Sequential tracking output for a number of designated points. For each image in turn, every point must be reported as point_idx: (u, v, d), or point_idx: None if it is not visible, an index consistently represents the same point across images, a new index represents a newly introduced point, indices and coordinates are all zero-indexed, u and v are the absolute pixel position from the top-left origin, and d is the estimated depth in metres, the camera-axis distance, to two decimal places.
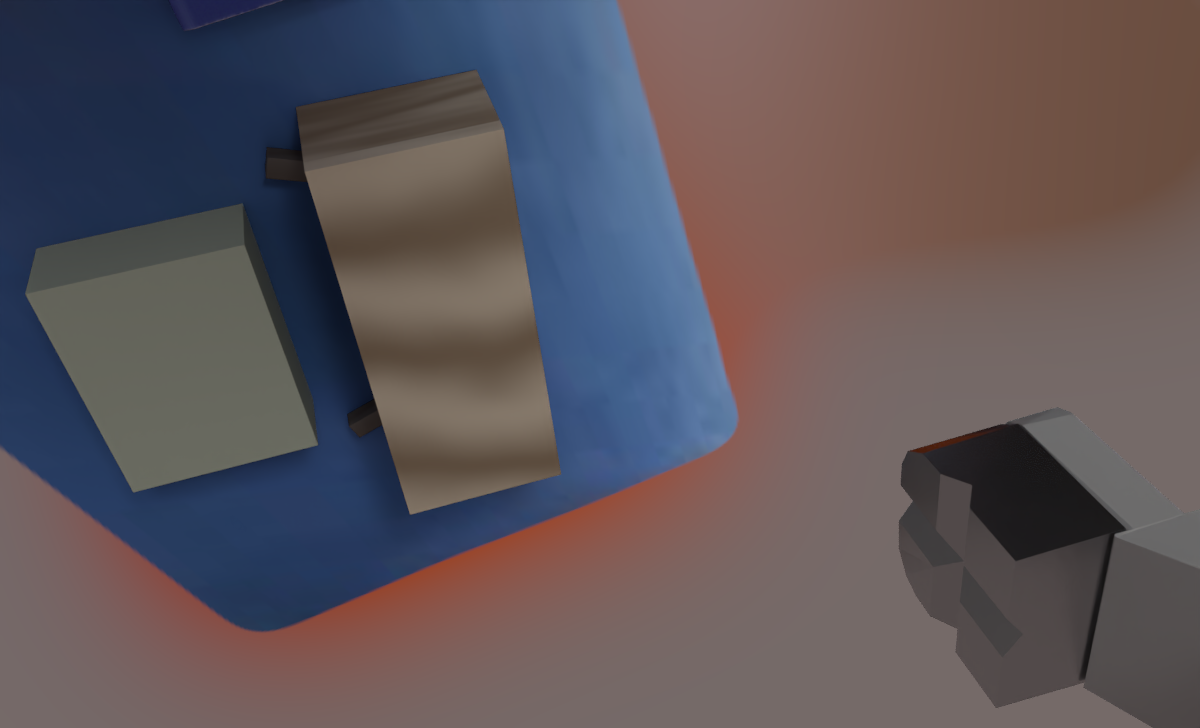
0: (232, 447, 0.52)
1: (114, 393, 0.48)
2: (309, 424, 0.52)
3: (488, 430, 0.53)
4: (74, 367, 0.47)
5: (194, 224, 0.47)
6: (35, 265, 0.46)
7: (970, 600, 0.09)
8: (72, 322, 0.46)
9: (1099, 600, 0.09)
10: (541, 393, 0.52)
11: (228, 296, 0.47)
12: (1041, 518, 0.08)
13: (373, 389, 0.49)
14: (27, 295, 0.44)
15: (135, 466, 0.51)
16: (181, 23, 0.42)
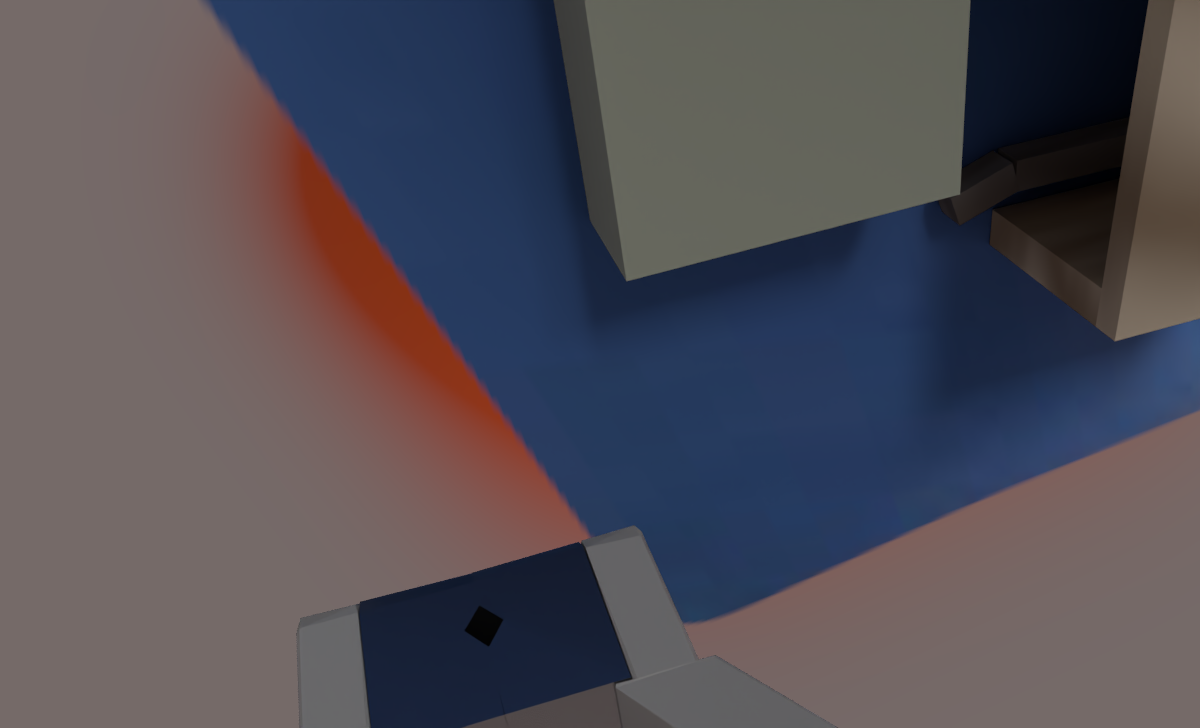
0: (819, 186, 0.26)
1: (650, 26, 0.23)
2: (960, 143, 0.27)
3: None
4: None
5: None
6: None
7: None
8: None
9: None
10: None
11: None
12: (553, 662, 0.08)
13: (1175, 17, 0.24)
14: None
15: (643, 219, 0.26)
16: None
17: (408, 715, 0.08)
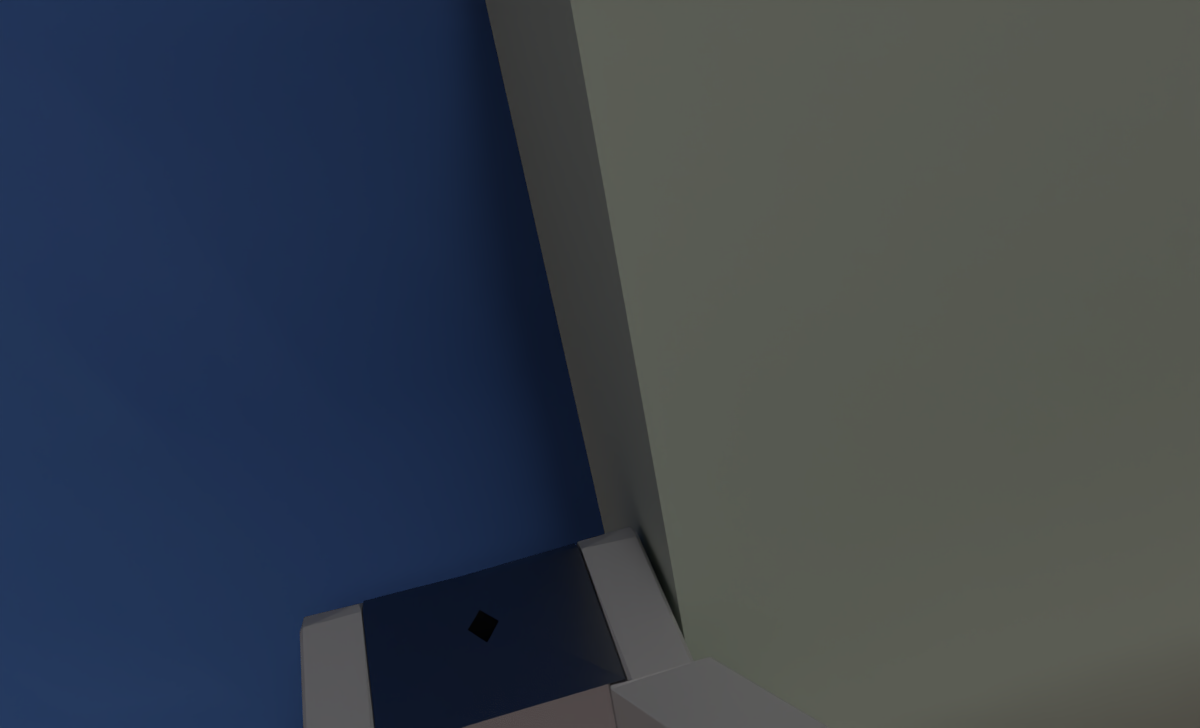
0: None
1: (847, 644, 0.09)
2: None
3: None
4: (708, 521, 0.08)
5: None
6: None
7: None
8: (796, 213, 0.07)
9: None
10: None
11: None
12: (548, 664, 0.08)
13: None
14: None
15: None
16: None
17: (411, 713, 0.08)
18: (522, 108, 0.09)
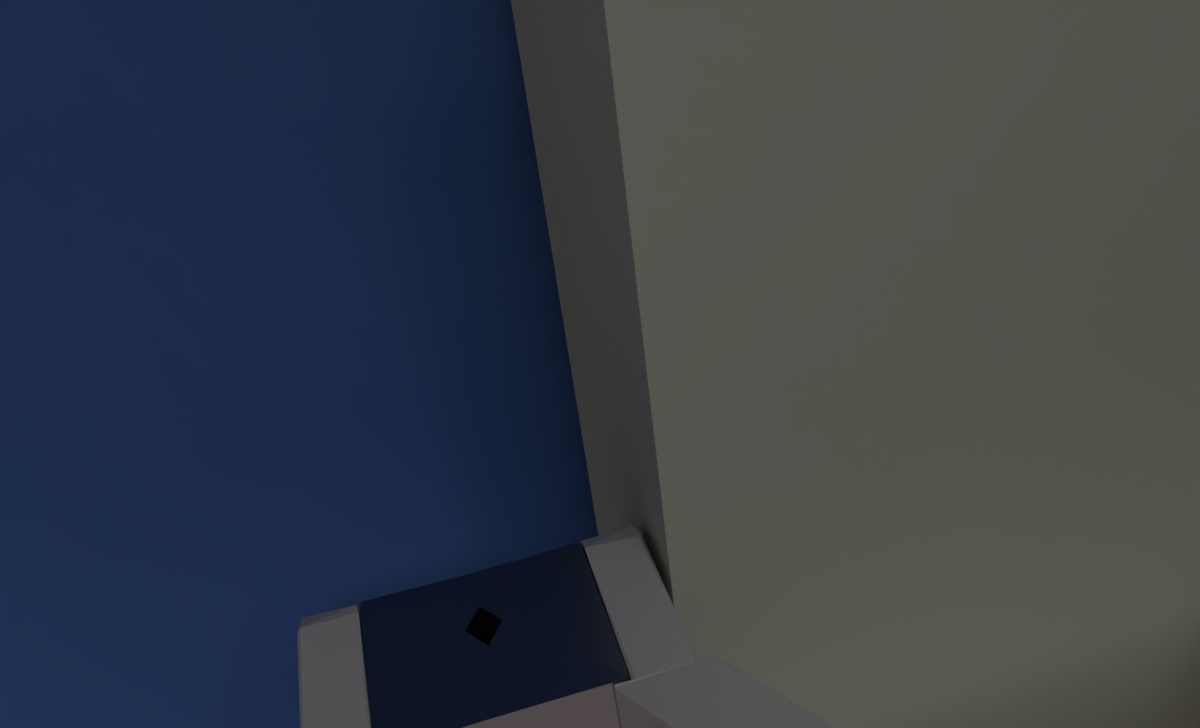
0: None
1: (829, 609, 0.09)
2: None
3: None
4: (701, 473, 0.08)
5: None
6: None
7: None
8: (801, 170, 0.07)
9: None
10: None
11: None
12: (552, 663, 0.08)
13: None
14: None
15: None
16: None
17: (409, 715, 0.08)
18: (533, 74, 0.09)
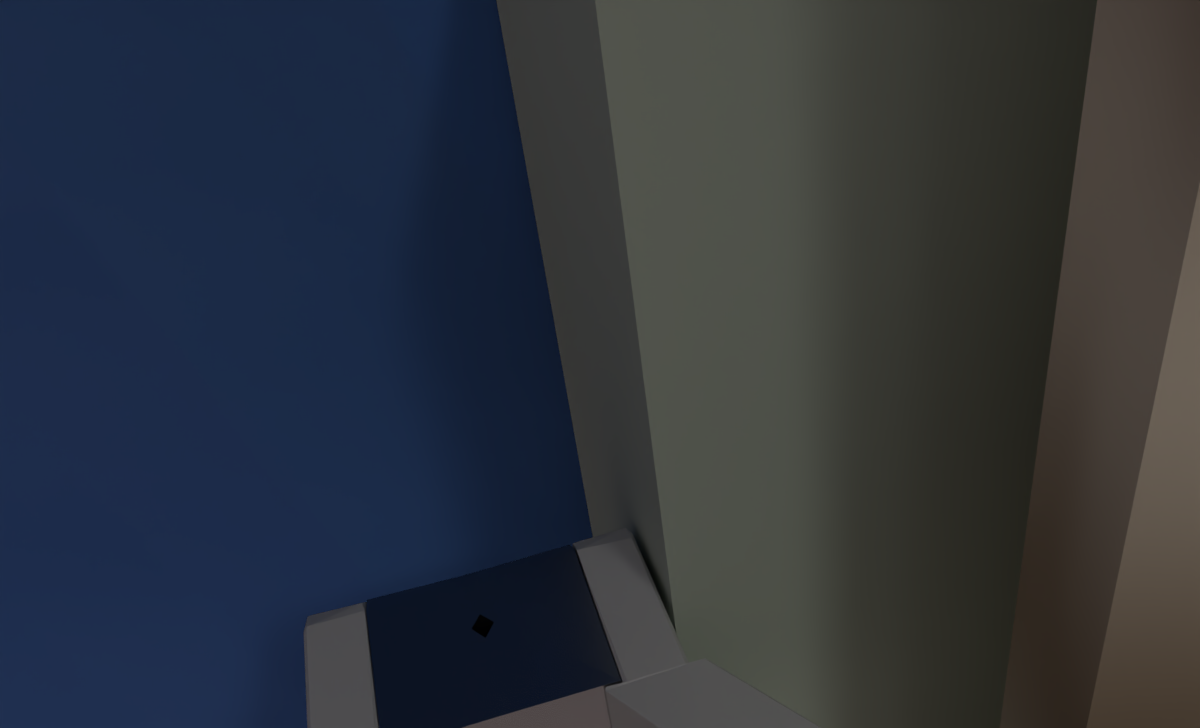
0: None
1: (836, 668, 0.09)
2: None
3: None
4: (707, 544, 0.08)
5: None
6: None
7: None
8: (806, 250, 0.07)
9: None
10: None
11: None
12: (542, 665, 0.08)
13: None
14: (604, 6, 0.06)
15: None
16: None
17: (415, 713, 0.08)
18: (535, 133, 0.09)
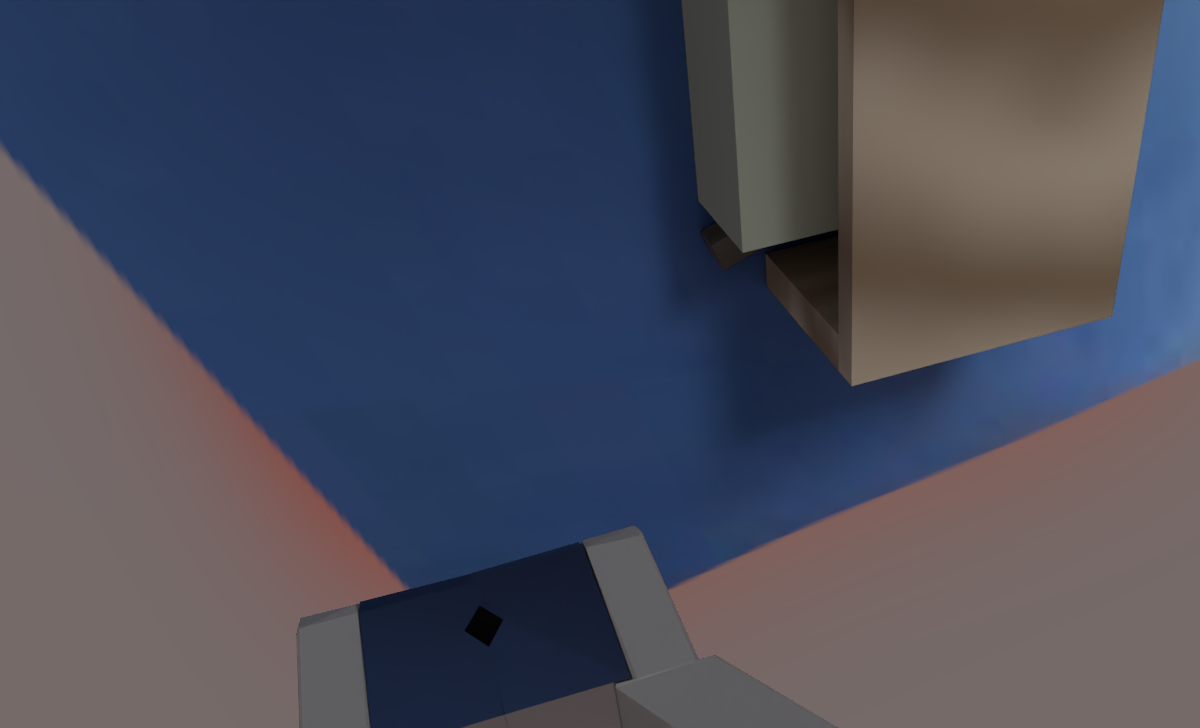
0: None
1: (782, 19, 0.26)
2: None
3: (1025, 204, 0.28)
4: None
5: None
6: None
7: None
8: None
9: None
10: (1133, 125, 0.27)
11: None
12: (552, 663, 0.08)
13: (856, 81, 0.24)
14: None
15: (762, 195, 0.28)
16: None
17: (408, 715, 0.08)
18: None
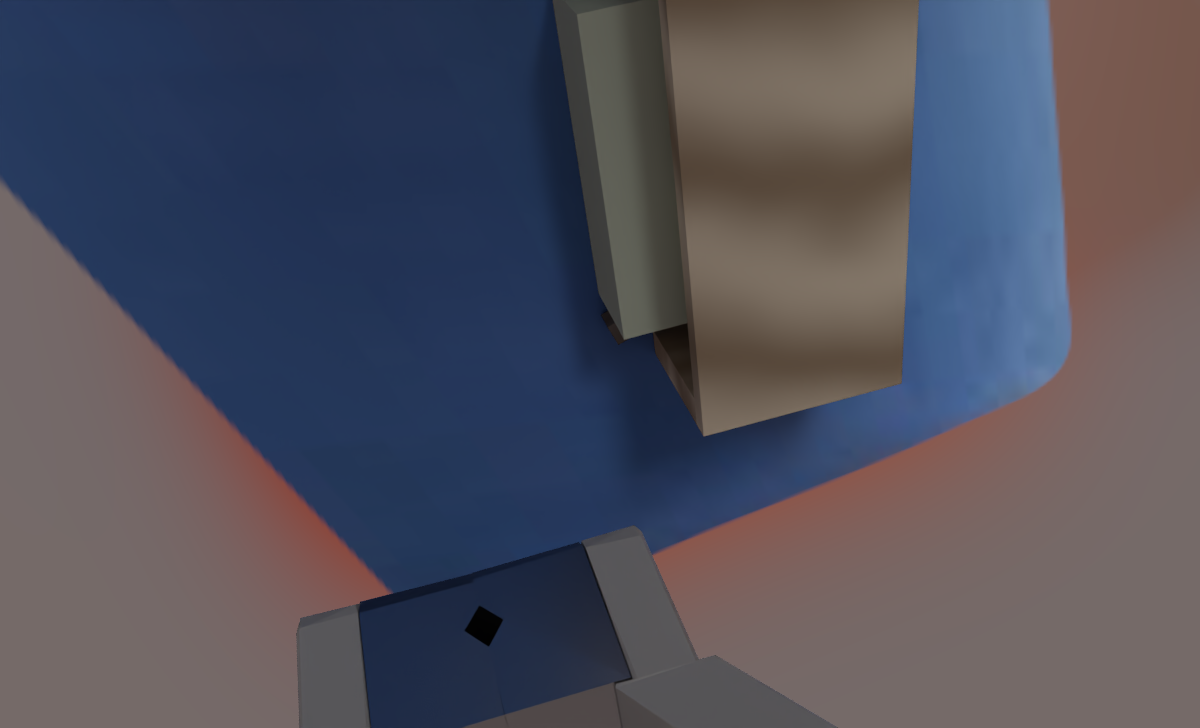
0: None
1: (640, 182, 0.36)
2: None
3: (823, 308, 0.38)
4: (604, 137, 0.35)
5: None
6: None
7: None
8: (620, 65, 0.34)
9: None
10: (899, 252, 0.38)
11: None
12: (553, 663, 0.08)
13: (688, 231, 0.35)
14: (578, 16, 0.33)
15: (635, 299, 0.39)
16: None
17: (408, 715, 0.08)
18: (563, 47, 0.36)
